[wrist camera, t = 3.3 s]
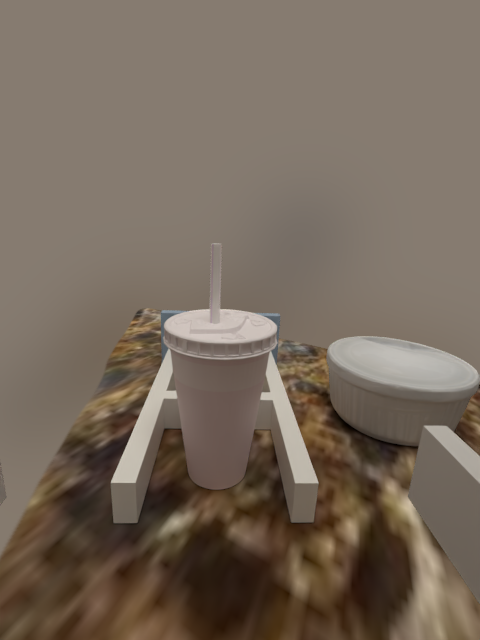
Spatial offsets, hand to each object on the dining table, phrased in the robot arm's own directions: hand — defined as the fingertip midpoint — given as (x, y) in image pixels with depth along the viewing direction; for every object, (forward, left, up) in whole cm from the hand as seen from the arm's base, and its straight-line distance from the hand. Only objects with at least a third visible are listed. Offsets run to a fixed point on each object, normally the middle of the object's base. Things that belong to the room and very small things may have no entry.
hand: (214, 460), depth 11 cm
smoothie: (-5, -8, -8) cm, 12 cm away
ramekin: (-21, -7, -8) cm, 23 cm away
